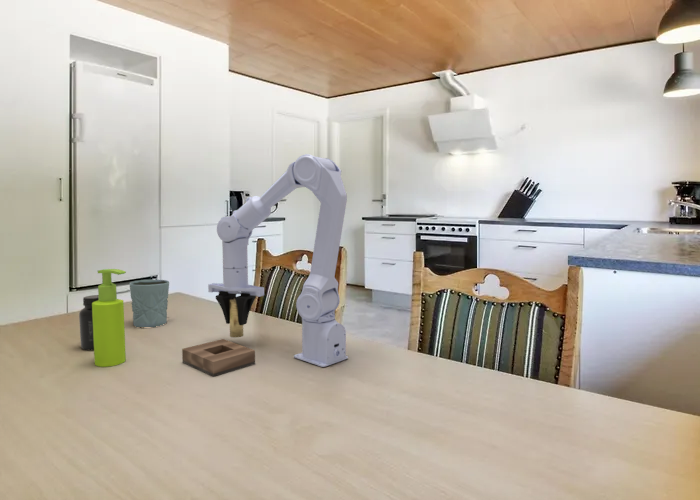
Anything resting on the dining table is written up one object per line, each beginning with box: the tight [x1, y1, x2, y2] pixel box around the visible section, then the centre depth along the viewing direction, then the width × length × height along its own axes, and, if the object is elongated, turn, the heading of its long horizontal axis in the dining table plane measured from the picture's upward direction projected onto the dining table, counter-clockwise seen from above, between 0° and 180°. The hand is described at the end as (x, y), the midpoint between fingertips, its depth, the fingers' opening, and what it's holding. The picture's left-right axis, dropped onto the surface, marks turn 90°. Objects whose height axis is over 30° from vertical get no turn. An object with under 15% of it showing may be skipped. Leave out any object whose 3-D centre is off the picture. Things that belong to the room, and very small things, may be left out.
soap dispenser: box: [92, 268, 127, 368], centre depth 97 cm, size 6×7×20 cm
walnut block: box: [181, 338, 256, 377], centre depth 97 cm, size 12×10×3 cm
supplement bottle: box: [78, 294, 99, 351], centre depth 108 cm, size 7×7×12 cm
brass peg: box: [229, 298, 244, 338], centre depth 110 cm, size 3×3×9 cm
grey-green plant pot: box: [129, 279, 170, 328], centre depth 128 cm, size 10×10×12 cm
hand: (236, 323), depth 110 cm, fingers closed on brass peg, 3 cm apart
